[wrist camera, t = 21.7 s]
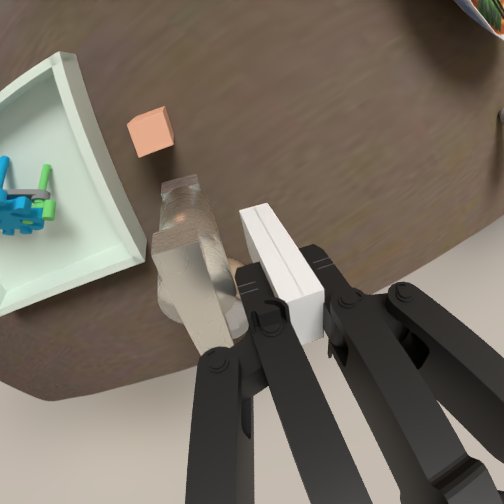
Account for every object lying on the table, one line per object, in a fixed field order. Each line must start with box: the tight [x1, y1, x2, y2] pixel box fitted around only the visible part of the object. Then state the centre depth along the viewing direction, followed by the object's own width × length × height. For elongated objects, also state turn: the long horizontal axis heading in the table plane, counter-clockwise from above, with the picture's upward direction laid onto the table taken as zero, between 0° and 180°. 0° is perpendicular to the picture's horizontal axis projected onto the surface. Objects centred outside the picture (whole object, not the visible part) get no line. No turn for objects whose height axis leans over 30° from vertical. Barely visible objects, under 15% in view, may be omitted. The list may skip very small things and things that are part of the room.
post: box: [127, 106, 174, 157], centre depth 18 cm, size 2×2×4 cm
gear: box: [0, 156, 56, 236], centre depth 15 cm, size 11×6×10 cm
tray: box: [0, 51, 147, 316], centre depth 17 cm, size 20×18×4 cm
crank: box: [151, 173, 249, 356], centre depth 19 cm, size 18×5×12 cm, turn 10°
